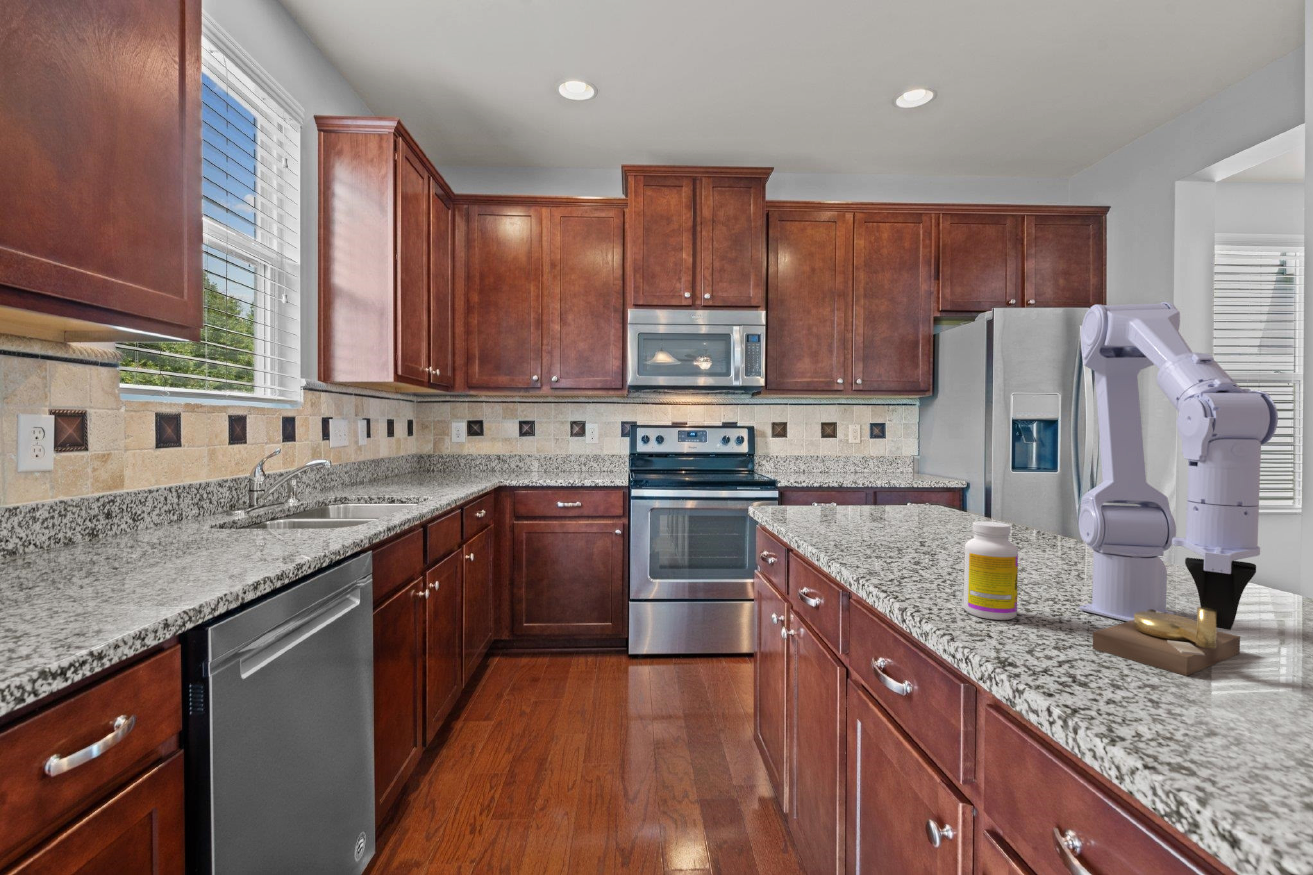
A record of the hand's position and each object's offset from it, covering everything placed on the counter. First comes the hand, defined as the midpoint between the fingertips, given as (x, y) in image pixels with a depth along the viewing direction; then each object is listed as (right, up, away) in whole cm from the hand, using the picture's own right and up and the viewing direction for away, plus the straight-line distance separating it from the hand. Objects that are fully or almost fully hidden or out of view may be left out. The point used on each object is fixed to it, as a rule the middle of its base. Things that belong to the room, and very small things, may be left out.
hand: (1217, 626), depth 66 cm
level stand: (-1, -5, +6) cm, 8 cm away
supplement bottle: (-14, -5, +20) cm, 25 cm away
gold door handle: (-1, -2, +4) cm, 5 cm away
